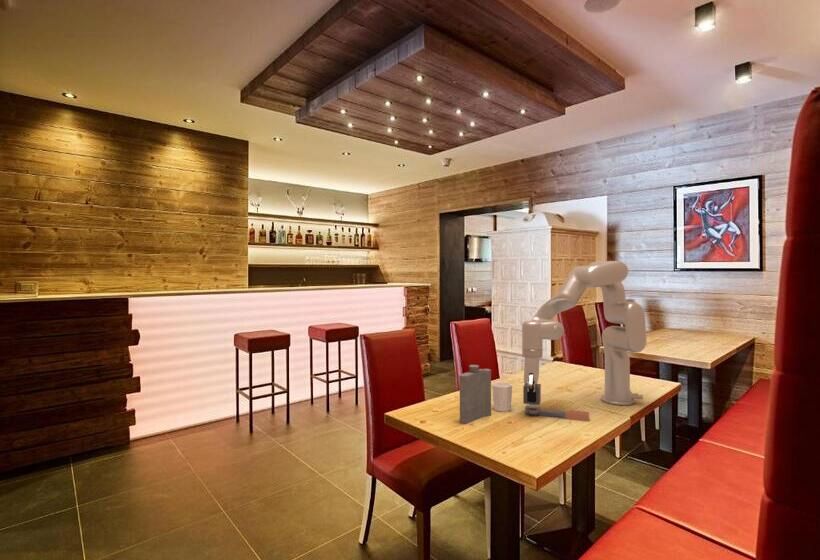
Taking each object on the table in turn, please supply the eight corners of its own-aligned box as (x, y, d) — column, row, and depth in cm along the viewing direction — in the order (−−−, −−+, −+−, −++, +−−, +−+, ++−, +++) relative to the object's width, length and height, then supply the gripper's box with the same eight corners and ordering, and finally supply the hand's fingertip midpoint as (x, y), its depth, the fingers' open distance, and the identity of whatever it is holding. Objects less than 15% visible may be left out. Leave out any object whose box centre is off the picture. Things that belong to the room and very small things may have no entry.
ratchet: (588, 417, 157) (588, 402, 157) (589, 422, 152) (589, 407, 152) (526, 411, 165) (525, 396, 165) (524, 415, 160) (524, 400, 160)
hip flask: (464, 424, 151) (463, 369, 151) (456, 421, 154) (455, 367, 154) (493, 414, 161) (492, 363, 161) (484, 412, 164) (484, 361, 164)
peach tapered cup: (488, 407, 170) (488, 382, 170) (505, 405, 173) (504, 381, 173) (499, 413, 163) (499, 387, 162) (516, 410, 165) (516, 385, 165)
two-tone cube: (540, 400, 163) (540, 384, 163) (539, 405, 158) (539, 388, 157) (525, 399, 165) (525, 382, 165) (523, 403, 160) (523, 386, 160)
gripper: (524, 348, 171) (524, 392, 171) (519, 356, 154) (519, 405, 155) (543, 349, 168) (543, 394, 168) (540, 357, 152) (540, 407, 152)
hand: (532, 399), depth 161 cm, fingers closed on two-tone cube, 6 cm apart
